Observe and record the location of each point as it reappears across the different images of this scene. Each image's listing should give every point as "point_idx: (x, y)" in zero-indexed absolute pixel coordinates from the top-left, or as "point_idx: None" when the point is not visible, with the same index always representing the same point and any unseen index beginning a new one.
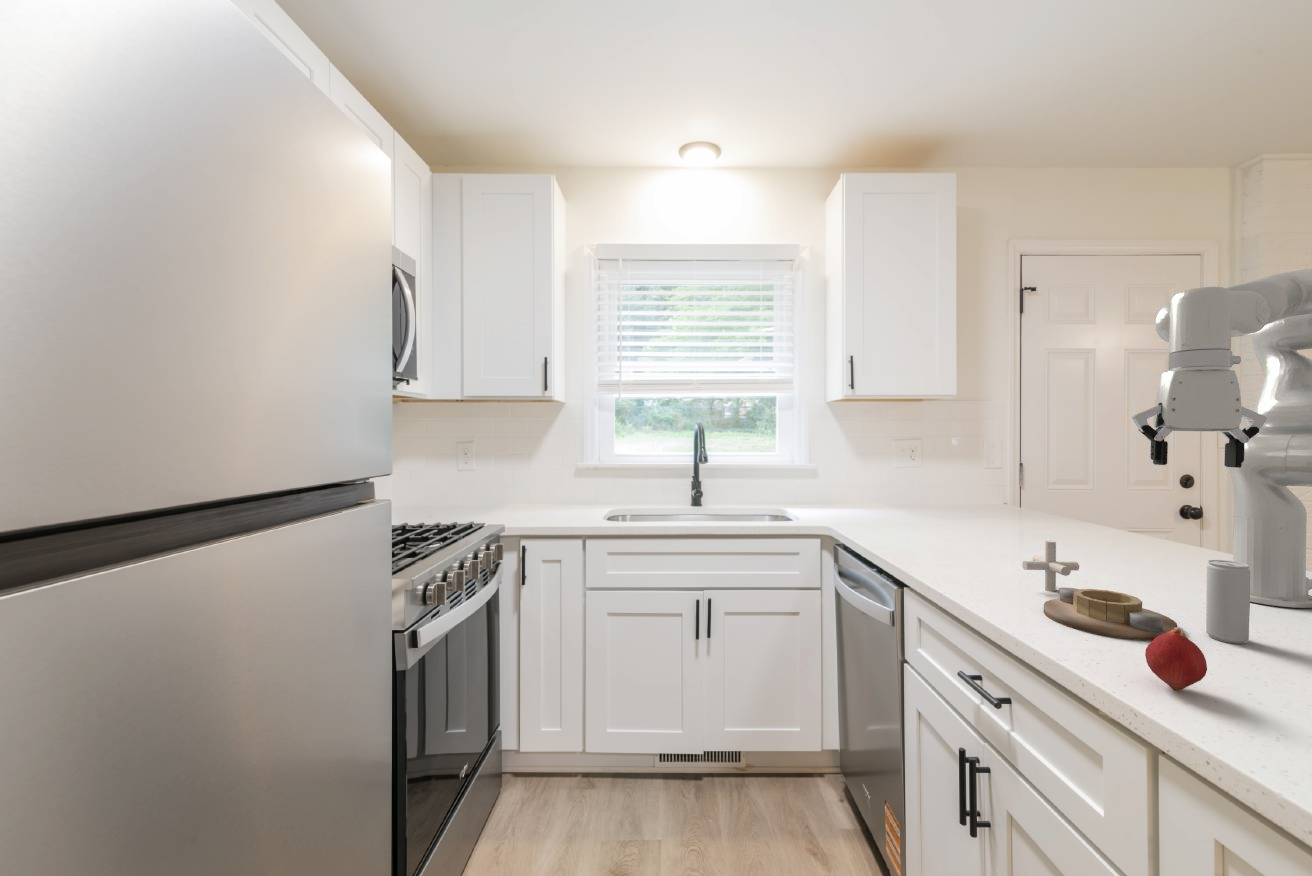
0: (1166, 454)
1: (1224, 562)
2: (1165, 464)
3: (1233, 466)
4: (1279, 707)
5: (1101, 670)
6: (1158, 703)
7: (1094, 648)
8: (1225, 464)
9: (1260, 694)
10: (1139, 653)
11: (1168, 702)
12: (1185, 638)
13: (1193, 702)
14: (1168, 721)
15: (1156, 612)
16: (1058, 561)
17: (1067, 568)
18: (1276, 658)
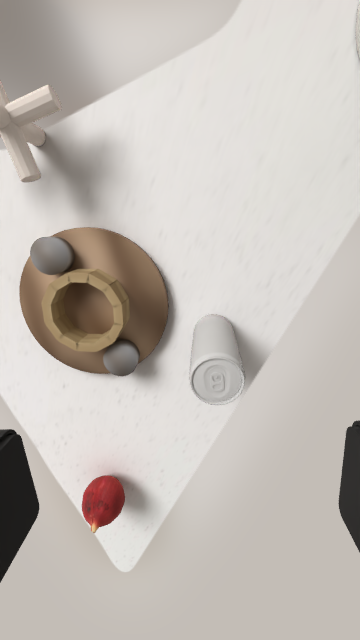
0: (2, 571)
1: (215, 374)
2: (34, 508)
3: (340, 494)
4: (171, 487)
5: (66, 458)
6: None
7: (68, 408)
8: (352, 437)
9: (170, 469)
10: (105, 408)
11: None
12: (101, 525)
13: None
14: None
15: (158, 273)
16: (14, 110)
17: (30, 176)
18: None
